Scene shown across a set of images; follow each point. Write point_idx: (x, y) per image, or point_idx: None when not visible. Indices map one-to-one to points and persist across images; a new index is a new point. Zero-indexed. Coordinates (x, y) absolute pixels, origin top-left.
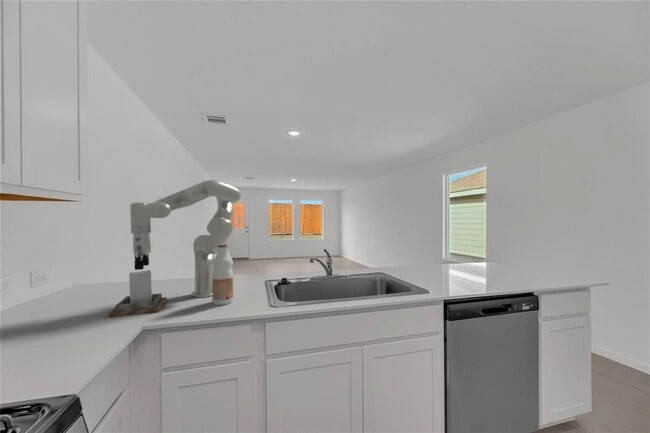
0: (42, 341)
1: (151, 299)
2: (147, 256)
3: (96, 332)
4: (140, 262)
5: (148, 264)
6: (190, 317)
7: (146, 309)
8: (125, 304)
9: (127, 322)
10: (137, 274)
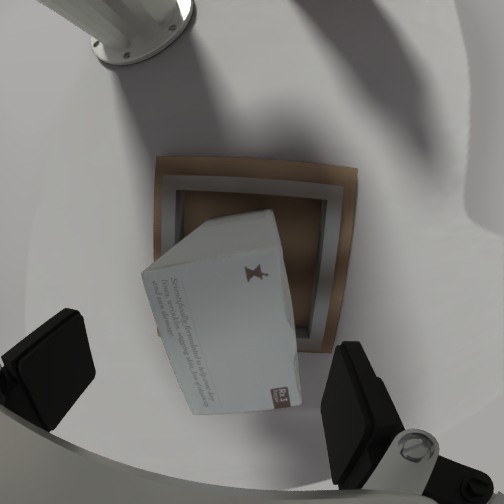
0: (430, 412)
1: (272, 211)
2: (3, 372)
3: (452, 332)
4: (400, 421)
5: (75, 312)
6: (448, 74)
7: (346, 222)
8: (321, 317)
9: (421, 271)
10: (294, 359)
